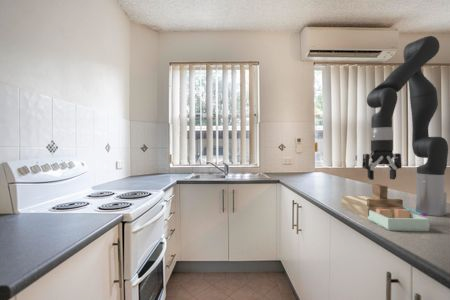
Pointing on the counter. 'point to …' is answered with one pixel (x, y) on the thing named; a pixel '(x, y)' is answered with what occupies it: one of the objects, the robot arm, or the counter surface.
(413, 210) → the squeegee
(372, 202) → the wooden t-shaped block
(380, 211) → the tile
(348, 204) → the wooden board
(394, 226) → the box
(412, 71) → the robot arm
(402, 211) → the tile
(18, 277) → the counter surface
